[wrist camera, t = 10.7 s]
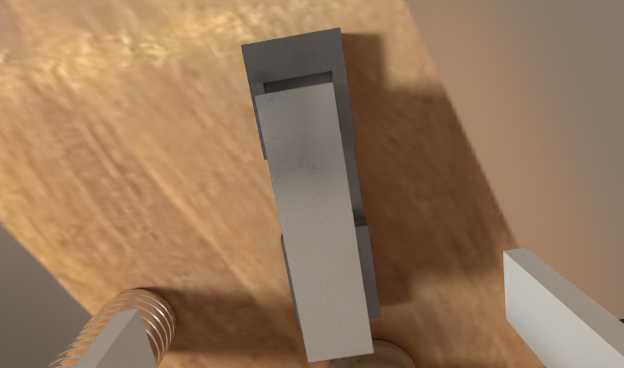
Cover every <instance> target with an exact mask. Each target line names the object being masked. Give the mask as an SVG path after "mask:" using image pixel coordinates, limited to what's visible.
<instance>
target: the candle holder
mask: <svg viewBox="0 0 624 368" xmlns="http://www.w3.org/2000/svg"><path fill="white" fill-rule="evenodd" d="M372 345H373V351H374V353H370V354H363V355H356V356H349V357H343V358H336V359H333V360H332V361H331V363H330V365H329V367H328V368H416V367H415V365H414V362H413V361H412V359H411V358H410V356H409V355H408V354H407V353H406V352H405V351H404V350H403V349H401V348H400V347H398V346H397V345H395V344H393V343H390V342H387V341H382V340H372Z"/></svg>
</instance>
